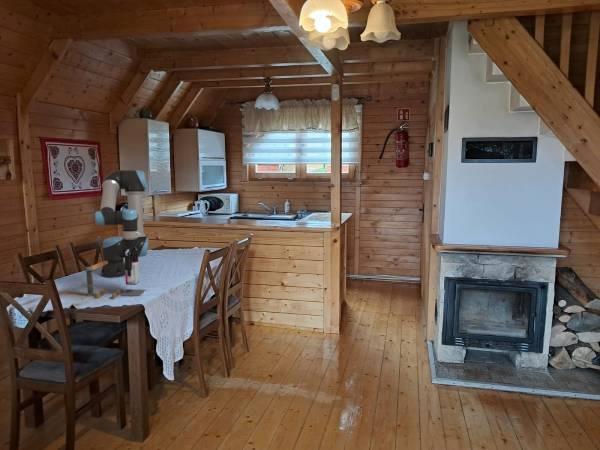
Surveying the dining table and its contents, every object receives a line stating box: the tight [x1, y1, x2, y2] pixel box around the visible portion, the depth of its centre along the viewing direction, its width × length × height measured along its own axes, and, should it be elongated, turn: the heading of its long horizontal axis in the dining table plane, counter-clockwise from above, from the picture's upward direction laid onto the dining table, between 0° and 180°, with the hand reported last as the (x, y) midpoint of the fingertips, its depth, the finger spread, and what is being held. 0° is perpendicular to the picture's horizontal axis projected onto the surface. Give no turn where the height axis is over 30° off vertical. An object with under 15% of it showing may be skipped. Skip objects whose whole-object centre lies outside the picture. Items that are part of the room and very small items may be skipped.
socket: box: [86, 270, 123, 300], centre depth 240 cm, size 10×16×14 cm, turn 89°
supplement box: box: [124, 261, 140, 286], centre depth 244 cm, size 6×6×12 cm
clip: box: [85, 260, 108, 272], centre depth 245 cm, size 3×17×2 cm, turn 169°
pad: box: [119, 288, 146, 297], centre depth 246 cm, size 10×10×1 cm
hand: (132, 279), depth 245 cm, fingers closed on supplement box, 6 cm apart
